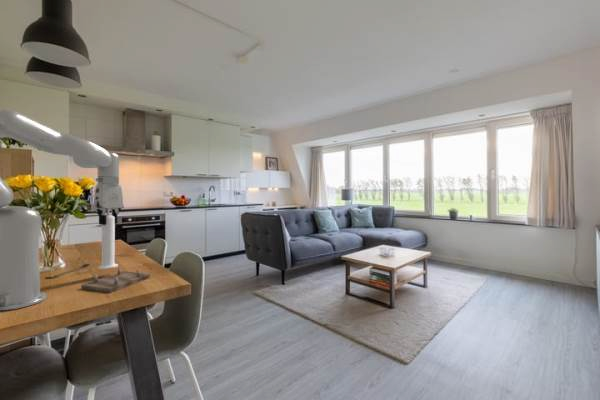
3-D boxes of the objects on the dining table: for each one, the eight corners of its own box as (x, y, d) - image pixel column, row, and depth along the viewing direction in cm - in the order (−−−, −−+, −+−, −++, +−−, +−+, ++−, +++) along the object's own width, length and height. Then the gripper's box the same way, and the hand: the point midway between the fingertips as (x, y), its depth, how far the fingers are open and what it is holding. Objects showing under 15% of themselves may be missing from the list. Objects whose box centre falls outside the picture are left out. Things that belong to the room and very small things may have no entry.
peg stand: (110, 292, 99) (110, 281, 99) (81, 288, 103) (81, 278, 103) (150, 277, 117) (149, 268, 117) (123, 274, 120) (123, 265, 120)
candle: (98, 270, 114) (98, 209, 113) (97, 266, 119) (97, 209, 119) (119, 267, 118) (119, 209, 118) (117, 264, 124) (117, 208, 123)
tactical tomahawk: (59, 281, 114) (59, 279, 114) (44, 280, 115) (44, 277, 115) (99, 266, 135) (99, 264, 135) (86, 265, 135) (86, 263, 135)
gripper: (95, 180, 109) (95, 226, 109) (132, 182, 125) (132, 222, 126) (81, 180, 111) (81, 225, 111) (119, 182, 127) (119, 222, 128)
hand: (108, 223), depth 118 cm, fingers closed on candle, 4 cm apart
